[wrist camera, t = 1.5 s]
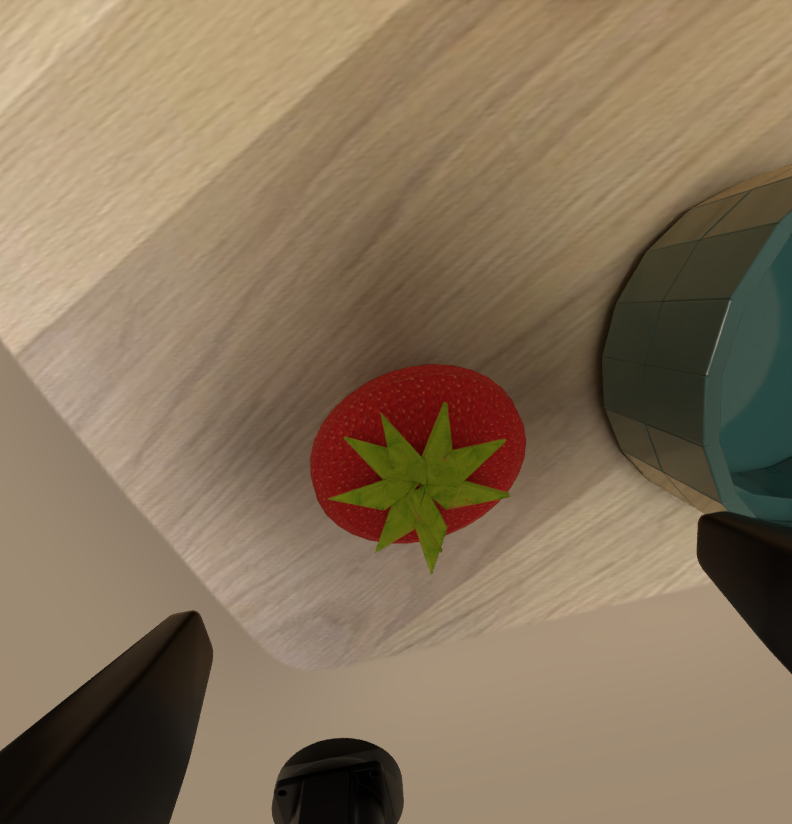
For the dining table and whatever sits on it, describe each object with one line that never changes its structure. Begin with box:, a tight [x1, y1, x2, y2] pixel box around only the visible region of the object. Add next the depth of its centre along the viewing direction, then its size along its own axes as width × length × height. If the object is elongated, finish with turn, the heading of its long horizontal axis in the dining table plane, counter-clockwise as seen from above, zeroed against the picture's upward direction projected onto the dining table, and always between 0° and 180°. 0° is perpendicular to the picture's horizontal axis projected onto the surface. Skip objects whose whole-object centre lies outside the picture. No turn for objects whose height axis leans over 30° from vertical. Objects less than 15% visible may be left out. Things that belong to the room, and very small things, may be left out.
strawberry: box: [310, 364, 526, 575], centre depth 14 cm, size 6×8×10 cm
